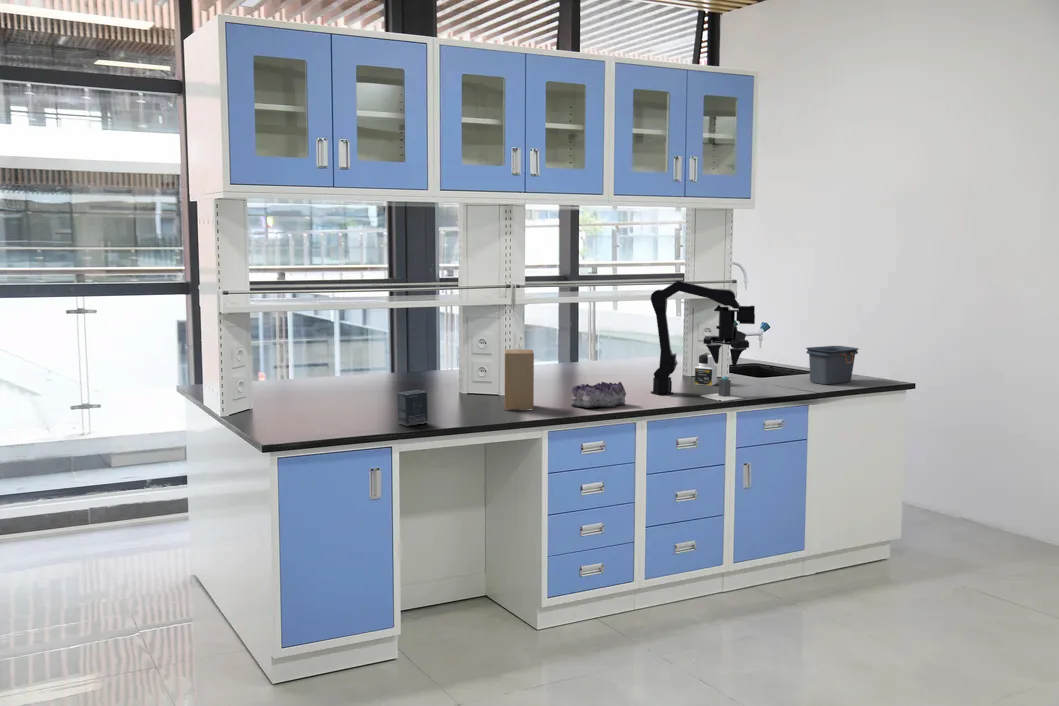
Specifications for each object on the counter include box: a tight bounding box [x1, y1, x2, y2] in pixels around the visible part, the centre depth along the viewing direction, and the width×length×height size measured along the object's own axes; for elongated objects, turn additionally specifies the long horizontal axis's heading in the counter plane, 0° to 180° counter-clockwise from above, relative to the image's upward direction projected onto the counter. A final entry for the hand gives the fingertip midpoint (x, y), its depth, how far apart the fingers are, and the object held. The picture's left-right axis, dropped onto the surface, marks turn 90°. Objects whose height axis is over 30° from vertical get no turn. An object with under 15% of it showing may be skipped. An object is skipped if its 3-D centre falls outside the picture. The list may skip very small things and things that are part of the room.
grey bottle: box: [718, 375, 732, 397], centre depth 365 cm, size 3×3×7 cm
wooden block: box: [504, 349, 535, 411], centre depth 339 cm, size 10×10×20 cm
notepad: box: [700, 392, 745, 402], centre depth 363 cm, size 11×12×1 cm
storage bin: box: [805, 345, 860, 385], centre depth 399 cm, size 21×16×14 cm
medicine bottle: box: [694, 354, 718, 387], centre depth 393 cm, size 7×7×12 cm
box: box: [397, 389, 429, 424], centre depth 311 cm, size 8×6×11 cm
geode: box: [571, 381, 627, 409], centre depth 345 cm, size 20×12×10 cm, turn 116°
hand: (725, 365), depth 364 cm, fingers open, 9 cm apart
